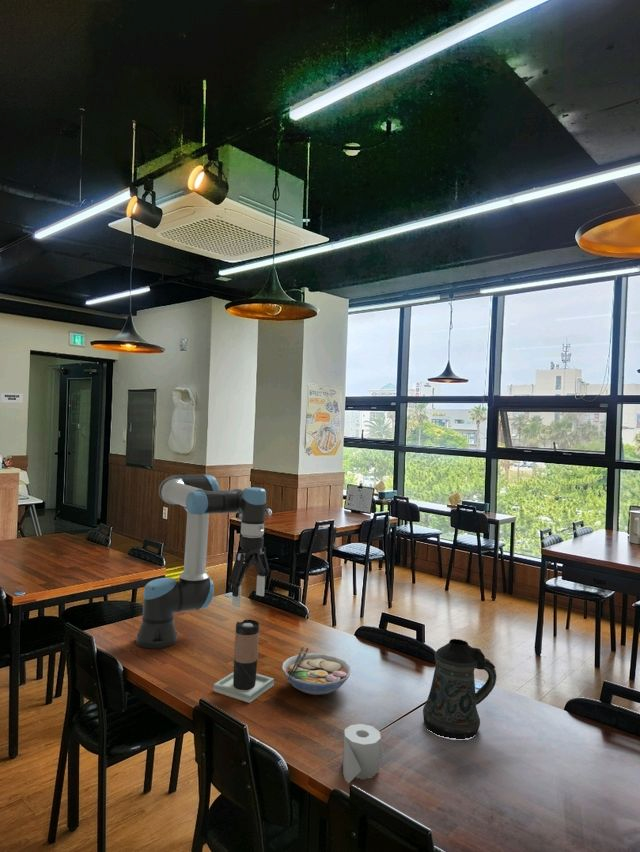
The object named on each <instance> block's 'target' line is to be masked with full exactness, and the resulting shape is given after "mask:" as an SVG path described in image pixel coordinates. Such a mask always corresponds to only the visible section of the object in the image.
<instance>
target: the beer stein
mask: <svg viewBox="0 0 640 852" xmlns="http://www.w3.org/2000/svg"><path fill="white" fill-rule="evenodd" d="M434 660H435V668H434V672H433V676H432V682H431V685H430V690H429V693H428V696H427V700H426V702H425V703H424V706H423V709H422V714H423V715H422V716H423V724H424V726H426V727H425V729H426V728H427V729H428V730H430V731H432V732H433V733H435V734H437V735H440V736H444V737H449V738H456V739H465V738H470V737H473V736H474V735H476V734H477V735H478V733H479V729H480V726H481V719H480V716H479V713H478V708H477V705H479V704H480V703H481V702H483V701H484V700H485V699H486V698H487V697H488V696H489V695H490V694H491V692H492V691H493V690H494V688H495V685H496V682H497V672H496V666H495V664H493V662H491V660H489V659H488V658H486V657H485V654H484V652H483V651H482V649H480V648H477V647H472V646H471V645H469V642H467V641H466V640H463V639H459V638H452V639H450V640H449V641H448V643H446V644H445V645H442V646H441V647H439V648H438V649H437V650H436V651H435V652H434ZM475 669H476V670H479V671H480V670H484V672H486V673H487V675H488V677H487V679H486V681H485V682H484V684H483V685H482V686H481V687H480V688H479V689H478V690H477V691H476V683H475V682H476V681H475ZM427 729H426V730H427ZM428 730H427V731H428ZM430 731H429V732H430ZM477 732H478V733H477ZM433 733H432V734H433ZM435 734H434V735H435Z"/></svg>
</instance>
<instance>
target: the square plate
mask: <svg viewBox="0 0 640 852" xmlns="http://www.w3.org/2000/svg"><path fill="white" fill-rule="evenodd" d="M233 675H234V671H232V672H231V673H229V674H228V675H226V676H225V677H223V678H221V679H220V680H218V681H217V682H215V683H213V692H215V693H218V694H221V695H224V696H227V697H230V698H232V699H237V700H239V701H241V702H246V703H248V704H251V703H252V702H253V701H254V700H256V699H258V698H259V697H260V696H262V695H263V694H264V693H266V692H267V691H269V690H270V689H271V688H272V687H274V685H275V678H273V677H270V676H267V675H263V674H260V673H257V672H256V682H255V686H254V688H252V689H249V690H239V689H236V688H235V687H234V685H233Z"/></svg>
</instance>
